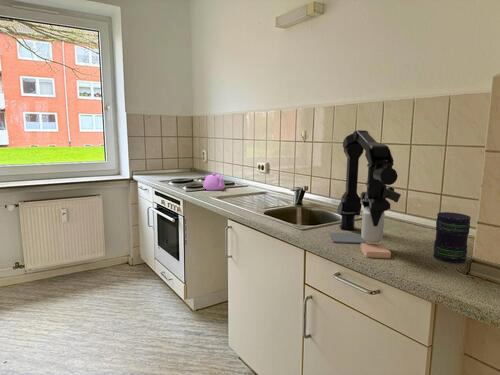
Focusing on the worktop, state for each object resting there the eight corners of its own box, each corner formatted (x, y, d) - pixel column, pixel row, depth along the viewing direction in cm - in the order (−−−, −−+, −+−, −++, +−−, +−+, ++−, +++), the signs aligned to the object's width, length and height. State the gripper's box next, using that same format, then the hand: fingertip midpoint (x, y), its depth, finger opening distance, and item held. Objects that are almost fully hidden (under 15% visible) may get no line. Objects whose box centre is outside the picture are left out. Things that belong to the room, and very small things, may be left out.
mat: (329, 233, 147) (329, 232, 146) (359, 235, 145) (359, 233, 145) (333, 242, 135) (333, 241, 135) (365, 244, 134) (365, 242, 134)
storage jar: (436, 251, 126) (440, 210, 124) (468, 257, 120) (473, 215, 118) (429, 259, 119) (433, 215, 116) (463, 266, 113) (468, 220, 110)
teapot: (231, 190, 252) (231, 173, 250) (213, 192, 242) (213, 175, 240) (214, 186, 269) (214, 170, 267) (196, 188, 259) (196, 172, 257)
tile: (360, 243, 128) (366, 251, 119) (383, 244, 127) (391, 252, 119) (360, 249, 128) (366, 258, 120) (383, 250, 128) (390, 259, 119)
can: (381, 238, 131) (383, 206, 129) (383, 244, 124) (386, 211, 122) (360, 236, 133) (362, 205, 131) (361, 242, 126) (363, 209, 124)
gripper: (408, 185, 115) (404, 231, 118) (391, 177, 134) (388, 218, 136) (373, 184, 116) (370, 230, 119) (361, 177, 135) (358, 216, 137)
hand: (372, 223), depth 128 cm, fingers closed on can, 7 cm apart
